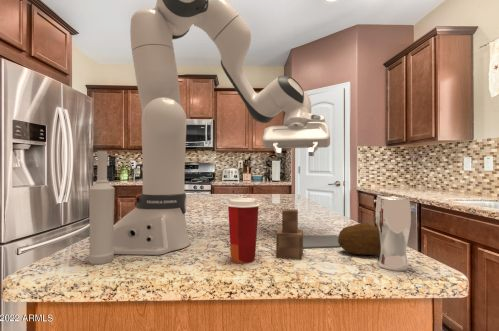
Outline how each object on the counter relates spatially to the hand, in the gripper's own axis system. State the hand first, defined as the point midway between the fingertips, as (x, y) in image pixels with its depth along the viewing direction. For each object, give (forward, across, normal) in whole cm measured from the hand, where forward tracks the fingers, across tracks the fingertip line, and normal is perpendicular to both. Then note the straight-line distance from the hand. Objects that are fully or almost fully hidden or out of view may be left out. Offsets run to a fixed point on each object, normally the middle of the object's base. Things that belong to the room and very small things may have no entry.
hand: (294, 154), depth 84 cm
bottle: (+38, -41, -2) cm, 56 cm away
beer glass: (+29, +22, +7) cm, 37 cm away
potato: (+23, +18, +13) cm, 32 cm away
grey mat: (+16, +7, +19) cm, 26 cm away
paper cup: (+31, -11, +4) cm, 33 cm away
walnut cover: (+27, 0, +9) cm, 28 cm away
